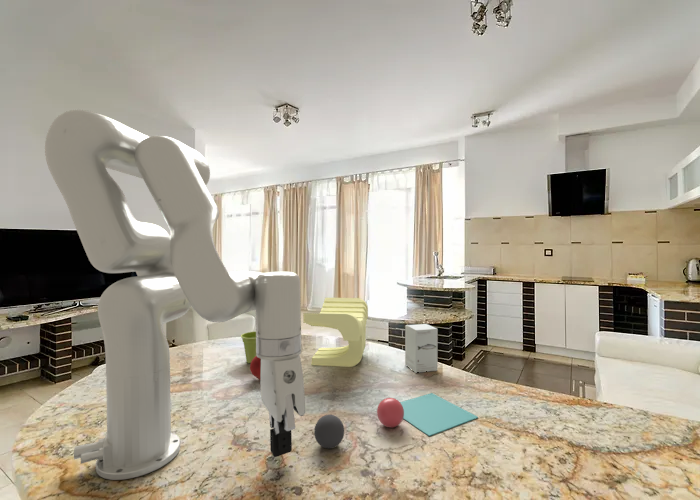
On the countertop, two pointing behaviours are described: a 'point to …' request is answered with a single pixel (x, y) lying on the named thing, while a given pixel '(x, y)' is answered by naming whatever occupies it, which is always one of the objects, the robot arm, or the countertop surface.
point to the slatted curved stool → (341, 330)
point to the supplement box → (421, 347)
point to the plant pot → (249, 345)
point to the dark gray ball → (329, 431)
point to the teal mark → (434, 414)
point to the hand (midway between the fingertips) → (281, 451)
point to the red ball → (390, 412)
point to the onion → (256, 367)
